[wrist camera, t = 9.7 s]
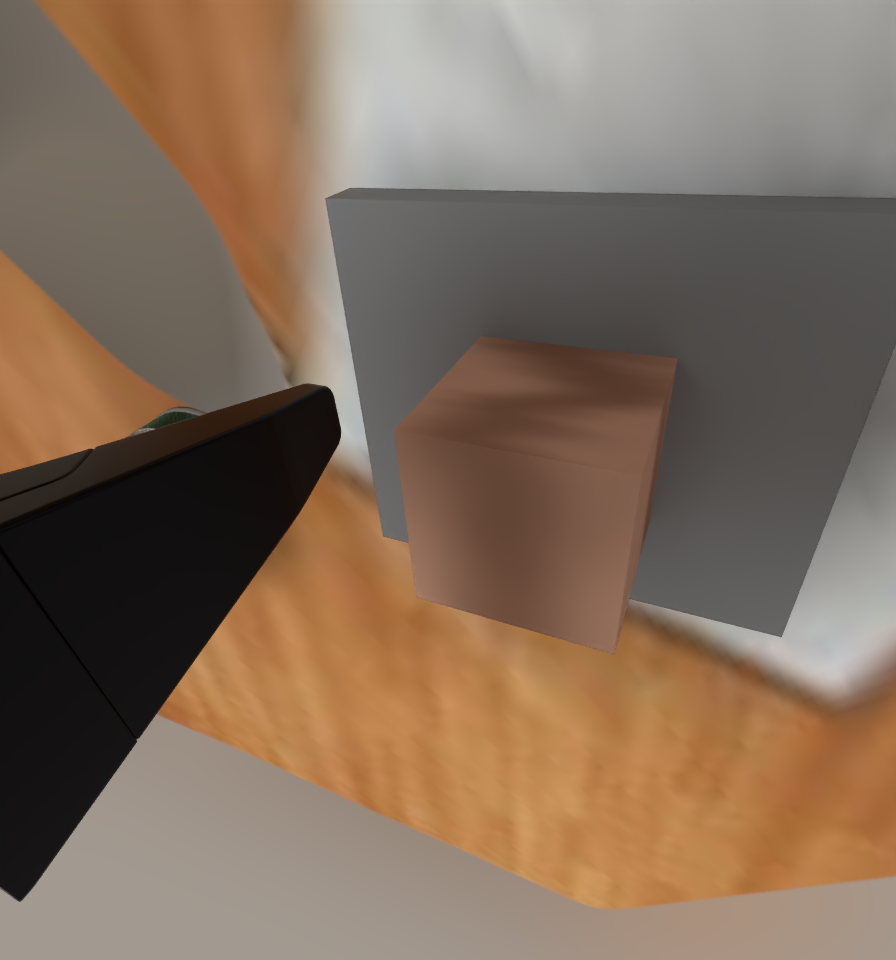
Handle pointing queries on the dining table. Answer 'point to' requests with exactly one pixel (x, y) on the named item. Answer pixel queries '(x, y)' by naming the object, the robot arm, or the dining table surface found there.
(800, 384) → the charcoal board
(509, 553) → the terracotta cube
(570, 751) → the dining table surface
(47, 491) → the robot arm
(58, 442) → the dining table surface
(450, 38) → the dining table surface
